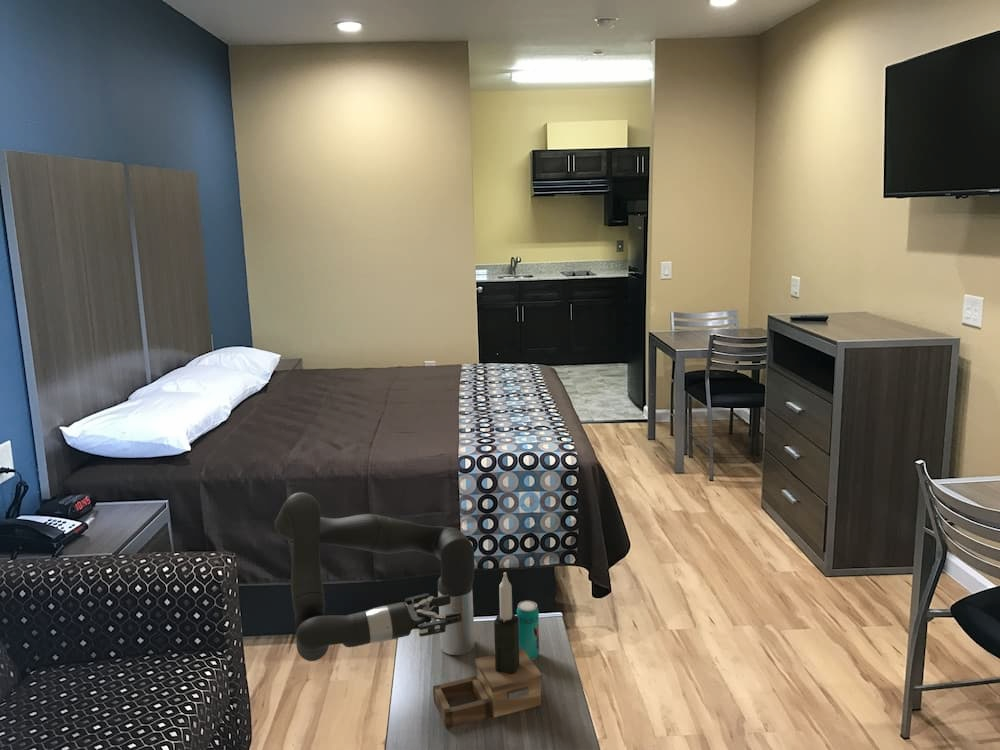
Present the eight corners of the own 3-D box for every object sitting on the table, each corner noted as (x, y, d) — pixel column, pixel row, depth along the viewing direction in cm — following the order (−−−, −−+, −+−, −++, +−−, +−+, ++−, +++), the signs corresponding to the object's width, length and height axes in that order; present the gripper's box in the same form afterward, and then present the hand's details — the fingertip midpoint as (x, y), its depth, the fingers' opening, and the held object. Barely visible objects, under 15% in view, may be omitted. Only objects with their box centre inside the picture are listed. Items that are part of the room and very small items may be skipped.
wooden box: (432, 697, 191) (430, 667, 189) (521, 675, 199) (521, 646, 197) (448, 732, 178) (447, 700, 176) (543, 707, 186) (543, 676, 184)
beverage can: (537, 663, 203) (536, 611, 200) (515, 661, 205) (514, 610, 201) (540, 651, 209) (539, 600, 206) (519, 649, 210) (518, 599, 207)
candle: (520, 663, 190) (518, 569, 184) (514, 675, 185) (511, 578, 180) (500, 659, 191) (498, 566, 186) (494, 671, 187) (491, 575, 181)
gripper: (393, 623, 168) (464, 607, 173) (379, 593, 181) (445, 579, 187) (395, 654, 170) (465, 637, 175) (381, 622, 183) (447, 607, 188)
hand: (455, 607), depth 181 cm, fingers open, 8 cm apart
